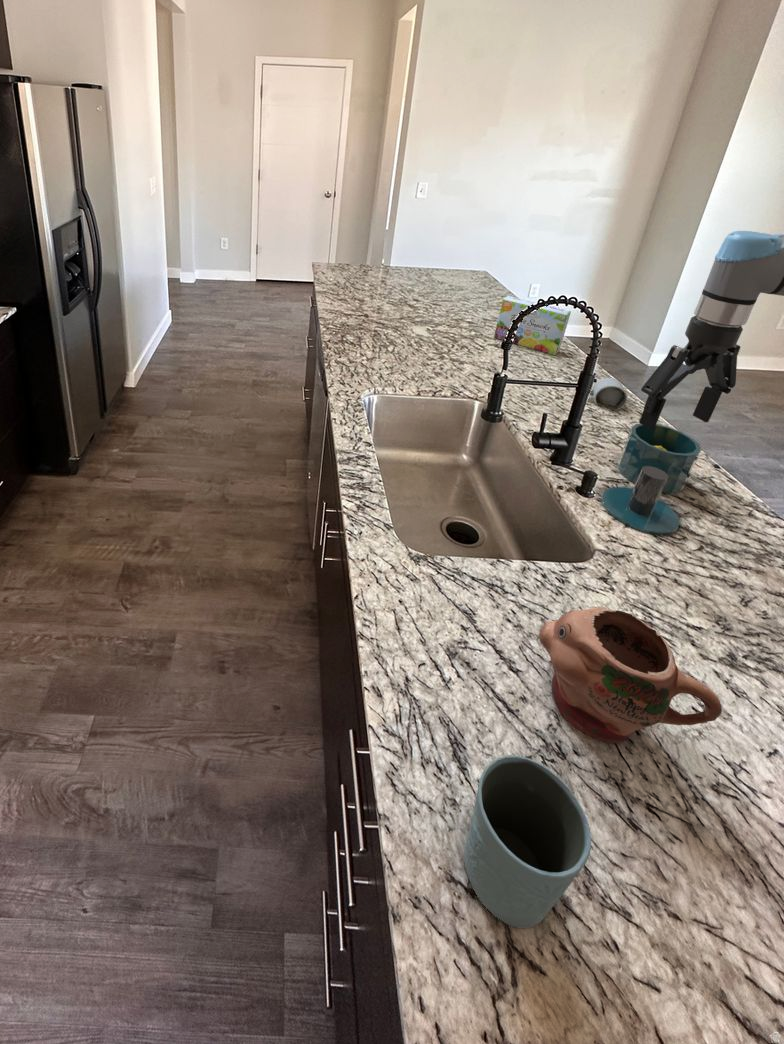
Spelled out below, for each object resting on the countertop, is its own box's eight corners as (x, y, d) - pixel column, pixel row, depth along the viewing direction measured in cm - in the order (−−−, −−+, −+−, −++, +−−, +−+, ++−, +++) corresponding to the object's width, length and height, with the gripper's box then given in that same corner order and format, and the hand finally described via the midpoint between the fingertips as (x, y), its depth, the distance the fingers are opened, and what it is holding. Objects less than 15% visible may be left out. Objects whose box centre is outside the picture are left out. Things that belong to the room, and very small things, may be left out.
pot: (696, 490, 117) (715, 451, 113) (651, 499, 114) (669, 459, 110) (646, 457, 128) (661, 420, 124) (604, 464, 125) (618, 426, 120)
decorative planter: (683, 707, 74) (723, 639, 68) (700, 798, 64) (749, 728, 58) (526, 644, 82) (550, 577, 76) (520, 716, 72) (547, 646, 66)
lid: (694, 530, 106) (714, 489, 101) (640, 542, 102) (659, 500, 98) (635, 487, 118) (651, 448, 113) (585, 496, 114) (599, 457, 110)
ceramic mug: (617, 401, 153) (626, 377, 150) (622, 414, 146) (631, 389, 143) (576, 393, 157) (583, 370, 153) (579, 406, 150) (586, 382, 147)
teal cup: (463, 923, 53) (489, 863, 48) (450, 805, 62) (470, 744, 57) (571, 949, 52) (609, 890, 47) (542, 825, 61) (571, 764, 56)
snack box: (492, 338, 193) (502, 298, 186) (498, 334, 197) (507, 294, 190) (555, 356, 180) (567, 314, 174) (560, 351, 184) (572, 309, 178)
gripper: (747, 309, 102) (703, 406, 111) (644, 317, 95) (606, 418, 105) (791, 324, 95) (740, 425, 104) (683, 333, 89) (639, 440, 98)
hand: (673, 422), depth 105 cm, fingers open, 13 cm apart
